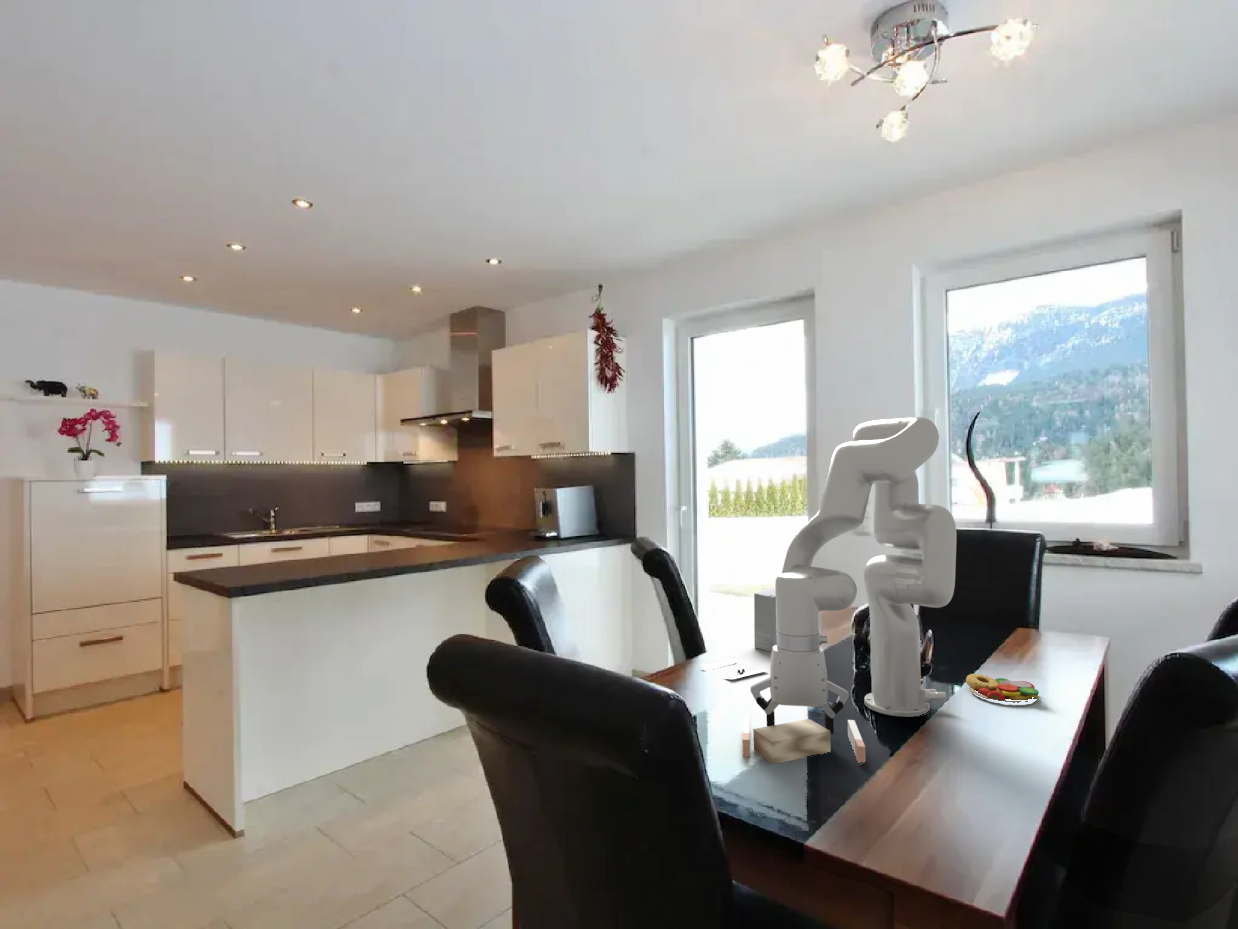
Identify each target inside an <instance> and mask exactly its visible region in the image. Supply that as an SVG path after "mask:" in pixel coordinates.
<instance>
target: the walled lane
mask: <svg viewBox="0 0 1238 929" xmlns="http://www.w3.org/2000/svg"><path fill="white" fill-rule="evenodd" d="M750 717H751V716H750V714H746V713H745V714H743V717H742V718H743V720H742V757H744V758H751V749H750V748H751V720H750V719H751V718H750ZM847 737H848V740H849V742H851V743H850V746H851V745H852V746H851V748H852V751H853V750H854V751H853V754H854V753H855V754H854V756H856V757H855V759H856V762H857V761H858V762H857V764H858V763H860V762H866V761H867V760H866V759H867V758H866V745H865V743H864V740H863V737H862V735H861V732H860V731H859V728H858V725H857V723H856V720H855V719H847Z"/></svg>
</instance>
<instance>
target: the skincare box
mask: <svg viewBox="0 0 1238 929" xmlns="http://www.w3.org/2000/svg"><path fill="white" fill-rule="evenodd" d="M753 595H754V596H753V597H754V598H753V599H754V600H753V601H754V603H753V604H754V607H753V608H754V614H753V615H754V623H753V624H754V635H753V636H754V649H758V650H763V651H767V652H770V653H772V648H773V646H775V645H777V635H776V589H775V588H769V589H766V590H761V591H759V592H755V593H753Z"/></svg>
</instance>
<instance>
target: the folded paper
mask: <svg viewBox="0 0 1238 929" xmlns="http://www.w3.org/2000/svg"><path fill="white" fill-rule="evenodd" d="M735 662H740V660H739V659H738V658H737V657H736V656H735V655H733V656H729V657H724V658H721V659H715V660H711V661H710V660H709V661H706V662H702V663H699V665H700V666H701V667H702V669H703V670H704V671H705V672H707V671H706V670H709V669H715V670H718V669H717V668H719V669H721V668H720V667H723V666H725V665H728V664H731V663H735ZM723 668H724V667H723ZM764 672H769V670H768V669H765V670H763V669H755V670H752V671H748V672H746V671H745V669H744V668H742V669H741V670H740V669H738V670H737V674H738V675H739V674H740V676H735V675H733V676H734V677H731V676H729V677H730V678H727V677H724V678H722V679H723V680H737V679H740V678H743V677H747V676H751V675H757V674H760V673H764Z"/></svg>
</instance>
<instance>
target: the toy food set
mask: <svg viewBox="0 0 1238 929" xmlns="http://www.w3.org/2000/svg"><path fill="white" fill-rule="evenodd" d="M965 683H966V685H968V686H969V690H970V692H971V693H972V694H973V693H975V694H976V695H978V696H981V697H983V698H986V699H993V700H998V701H1005V702H1013V703H1015V702H1017V703H1019V702H1021V701H1006V700H1005V699H1011V700H1028V699H1032V697H1034V698H1033V699H1038V698H1040V696H1038V695H1039V693H1040V692H1039V690H1038V689H1035V688H1036V687H1035V685H1034V684H1033V683H1031V682H1028V681H1024V680H1011V679H1010V680H1009V679H1008V678H1003V677H1000V678H999V677H998V678H996V679H994V678H992V677H990V676H988V675H985V674H980V673H970V674H968V675H967V676H966V678H965ZM975 690H976V691H978V693H977V692H976V691H975ZM979 693H980V694H979ZM981 694H982V695H981ZM1038 700H1039V699H1038ZM1025 702H1028V701H1025Z"/></svg>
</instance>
